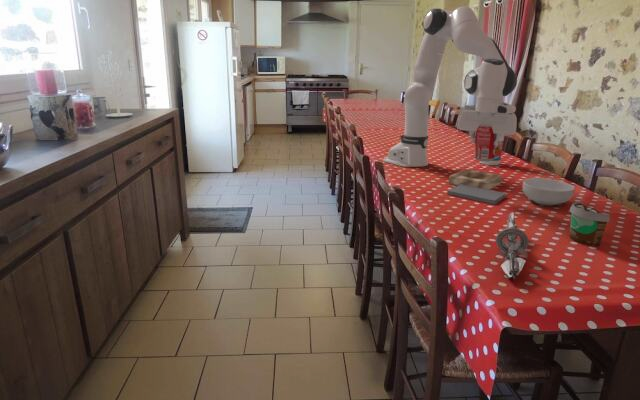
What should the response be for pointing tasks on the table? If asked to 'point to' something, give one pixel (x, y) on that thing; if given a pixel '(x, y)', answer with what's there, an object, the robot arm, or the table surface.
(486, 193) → the charcoal board
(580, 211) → the food container
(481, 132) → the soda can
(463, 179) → the wooden holder
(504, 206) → the table surface
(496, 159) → the fruit juice
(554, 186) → the cereal bowl
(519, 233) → the spaceship
